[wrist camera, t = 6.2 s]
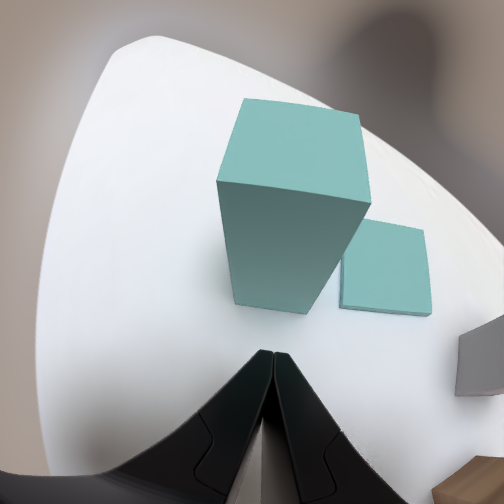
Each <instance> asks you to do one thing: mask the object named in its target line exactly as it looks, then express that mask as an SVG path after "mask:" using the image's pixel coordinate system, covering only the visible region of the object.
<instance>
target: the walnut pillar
mask: <svg viewBox="0 0 504 504" xmlns="http://www.w3.org/2000/svg"><path fill="white" fill-rule="evenodd" d="M432 493H433V498H434V504H504V458H502V457H486V456H476V457H474V458H473V459H472V460H471V461H470V462H468V463H467V464H466V465H465V466H463V467H462V468H461V469H460V470H458V471H457V472H456V473H454V474H453V475H452V476H450V477H449V478H447V479H446V480H445V481H443V482H442V483H440V484H439V485H438V486H436V487H435V488H433V489H432Z"/></svg>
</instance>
